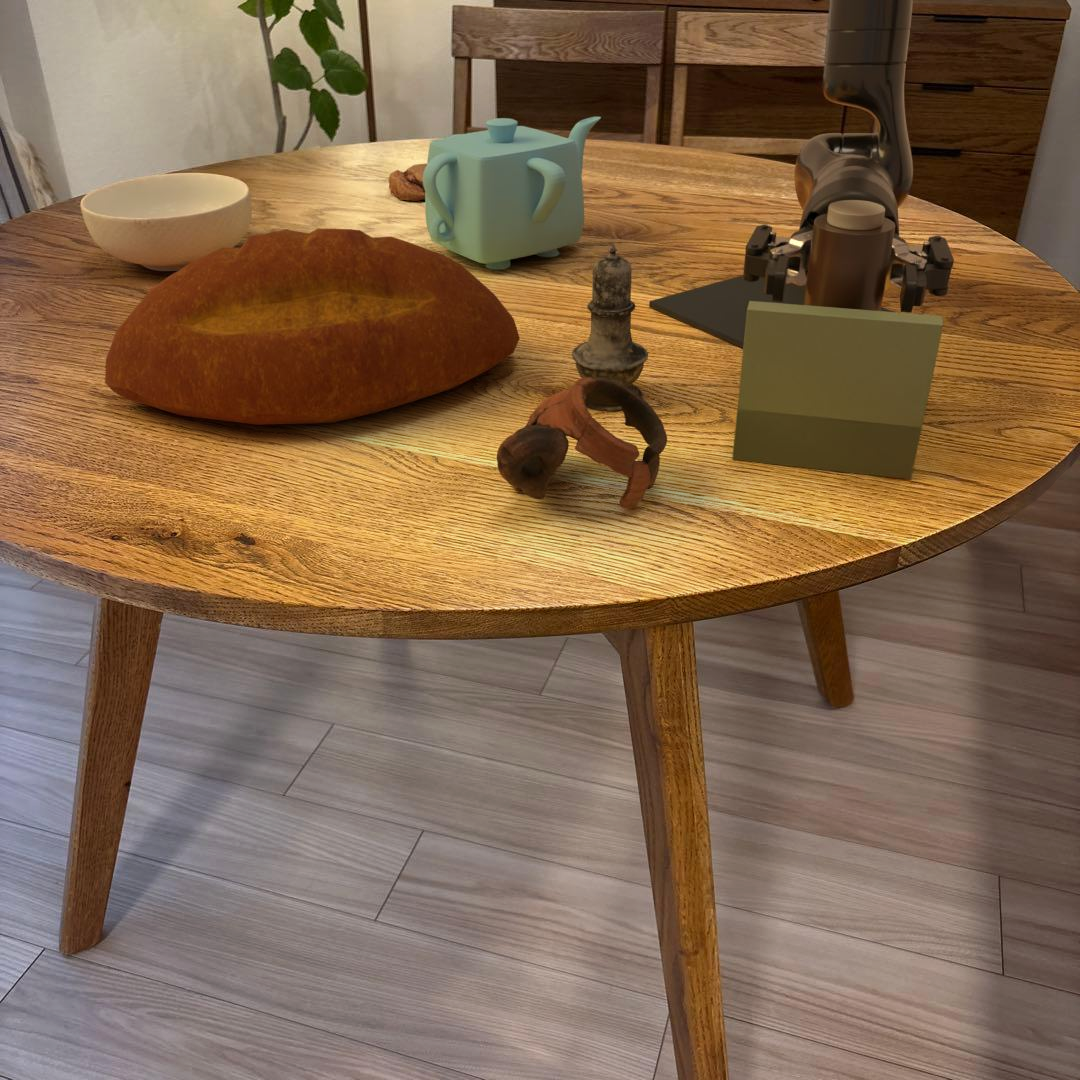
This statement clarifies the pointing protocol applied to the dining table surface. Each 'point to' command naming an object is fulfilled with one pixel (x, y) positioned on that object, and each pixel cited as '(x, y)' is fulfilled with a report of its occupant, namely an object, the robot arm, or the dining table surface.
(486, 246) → the teapot
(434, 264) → the bread
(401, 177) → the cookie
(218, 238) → the cereal bowl
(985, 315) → the dining table surface
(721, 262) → the dining table surface
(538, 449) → the brown leather headphones
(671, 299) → the slate mat
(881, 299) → the pepper mill
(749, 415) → the olive piece
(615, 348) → the salt shaker
